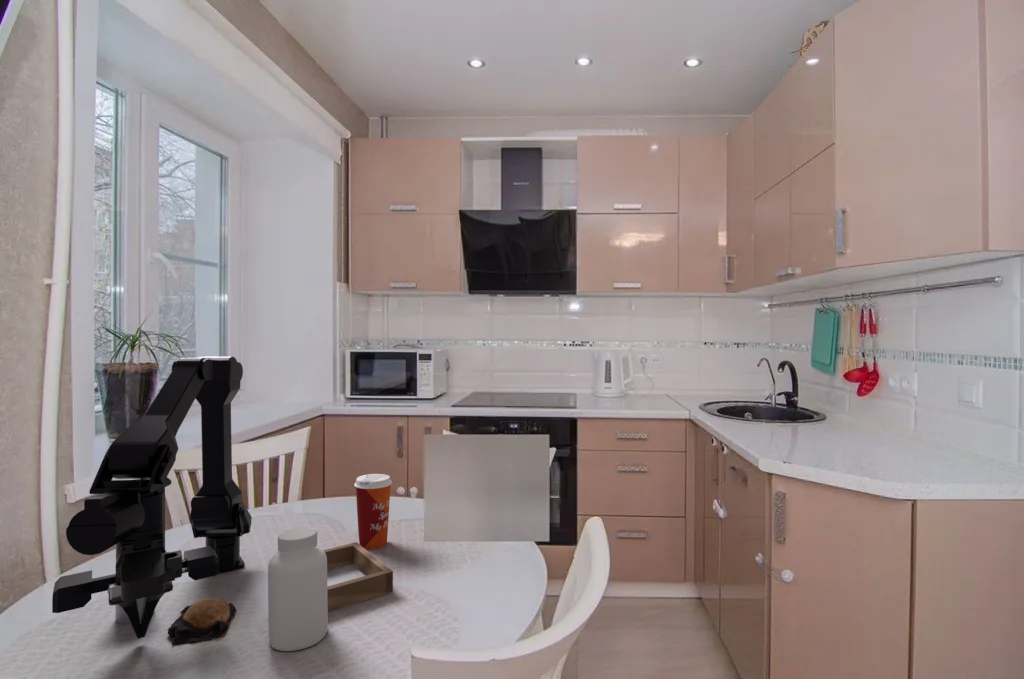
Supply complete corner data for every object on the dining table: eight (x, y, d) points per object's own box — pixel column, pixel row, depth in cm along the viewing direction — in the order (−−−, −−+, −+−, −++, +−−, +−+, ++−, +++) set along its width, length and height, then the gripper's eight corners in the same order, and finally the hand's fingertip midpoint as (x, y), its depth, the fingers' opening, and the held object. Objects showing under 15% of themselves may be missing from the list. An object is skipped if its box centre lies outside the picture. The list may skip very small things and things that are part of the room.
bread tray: (273, 581, 94) (273, 561, 94) (356, 560, 104) (356, 542, 104) (301, 620, 81) (301, 597, 81) (392, 591, 91) (392, 571, 91)
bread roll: (179, 616, 84) (179, 592, 84) (239, 606, 87) (239, 584, 87) (160, 653, 74) (160, 626, 74) (228, 641, 77) (228, 615, 77)
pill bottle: (279, 623, 80) (279, 524, 80) (333, 621, 81) (333, 522, 81) (258, 654, 72) (258, 544, 72) (319, 652, 73) (319, 542, 73)
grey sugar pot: (113, 613, 83) (113, 570, 83) (154, 603, 87) (155, 561, 87) (114, 628, 79) (114, 582, 79) (157, 617, 82) (157, 573, 82)
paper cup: (382, 552, 107) (382, 483, 107) (347, 549, 109) (347, 481, 109) (398, 538, 115) (398, 473, 115) (365, 536, 116) (365, 471, 116)
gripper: (48, 562, 63) (48, 694, 63) (225, 528, 74) (225, 639, 74) (55, 534, 72) (55, 650, 72) (212, 507, 83) (212, 607, 83)
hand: (140, 636), depth 75 cm, fingers closed
